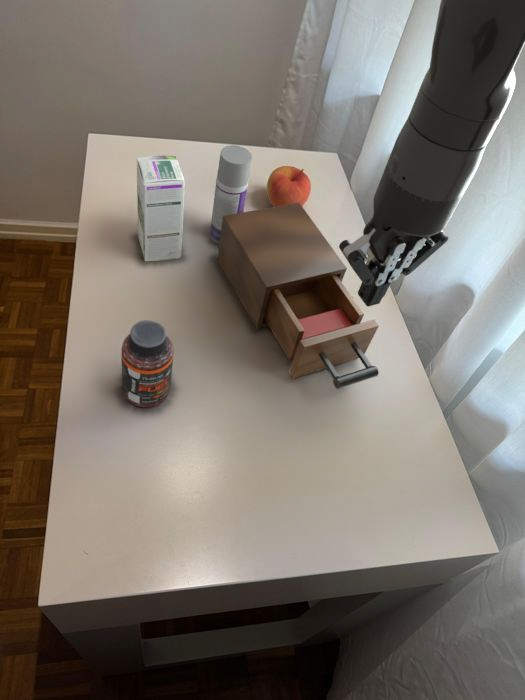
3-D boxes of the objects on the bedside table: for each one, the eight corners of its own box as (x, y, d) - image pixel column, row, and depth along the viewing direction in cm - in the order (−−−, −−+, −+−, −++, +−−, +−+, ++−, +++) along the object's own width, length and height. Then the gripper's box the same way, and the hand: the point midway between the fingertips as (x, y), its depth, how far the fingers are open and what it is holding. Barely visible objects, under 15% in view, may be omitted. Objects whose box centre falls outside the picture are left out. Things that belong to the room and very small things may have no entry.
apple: (261, 192, 101) (268, 152, 95) (301, 195, 102) (311, 156, 96) (265, 220, 96) (274, 180, 90) (307, 222, 98) (318, 183, 92)
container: (227, 222, 94) (239, 141, 83) (244, 239, 93) (259, 159, 81) (204, 231, 92) (213, 149, 80) (221, 249, 90) (233, 168, 79)
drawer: (384, 387, 78) (402, 357, 72) (312, 412, 73) (325, 382, 68) (317, 289, 87) (329, 256, 82) (250, 305, 83) (258, 272, 78)
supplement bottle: (139, 417, 70) (138, 363, 61) (113, 383, 72) (109, 326, 63) (179, 395, 73) (185, 339, 64) (153, 363, 75) (155, 305, 66)
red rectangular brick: (334, 323, 82) (341, 308, 79) (345, 340, 80) (352, 324, 78) (285, 337, 79) (290, 321, 76) (296, 355, 77) (301, 339, 75)
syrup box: (181, 259, 88) (188, 179, 76) (143, 263, 86) (143, 182, 74) (173, 233, 91) (178, 154, 79) (136, 237, 89) (135, 155, 78)
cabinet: (331, 309, 86) (347, 268, 80) (256, 328, 82) (266, 287, 75) (287, 244, 94) (299, 202, 87) (216, 259, 89) (222, 215, 82)
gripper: (391, 209, 48) (336, 338, 61) (506, 187, 53) (431, 310, 66) (346, 156, 52) (303, 288, 65) (458, 140, 57) (396, 266, 70)
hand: (368, 299), depth 66 cm, fingers closed
